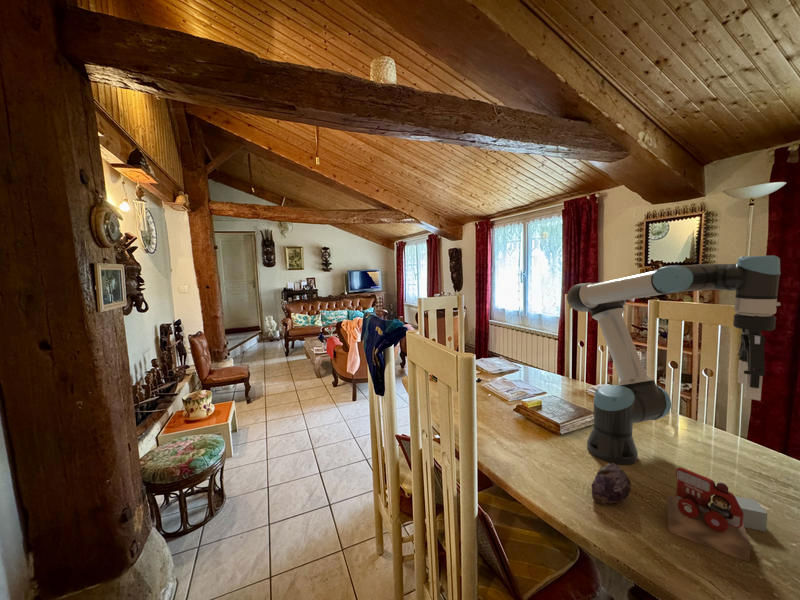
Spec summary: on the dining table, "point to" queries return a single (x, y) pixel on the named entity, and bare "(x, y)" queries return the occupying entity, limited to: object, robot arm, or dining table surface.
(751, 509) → the grey cube
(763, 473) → the dining table surface
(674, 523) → the pedestal
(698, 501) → the toy fire truck
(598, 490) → the rock
